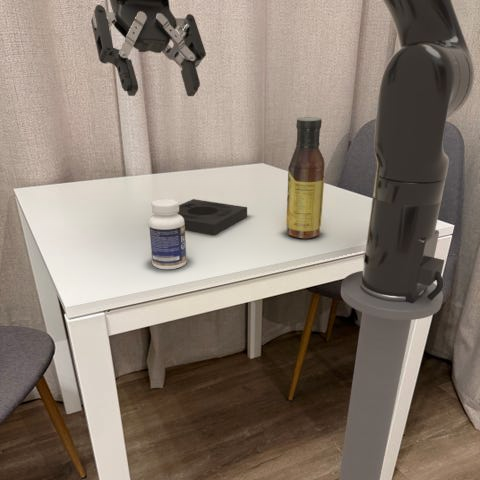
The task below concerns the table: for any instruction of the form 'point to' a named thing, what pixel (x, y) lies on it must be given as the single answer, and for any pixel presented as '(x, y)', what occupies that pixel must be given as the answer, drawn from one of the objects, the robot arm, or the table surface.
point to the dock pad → (210, 216)
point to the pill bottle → (167, 235)
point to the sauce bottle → (305, 181)
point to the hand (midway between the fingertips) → (164, 93)
